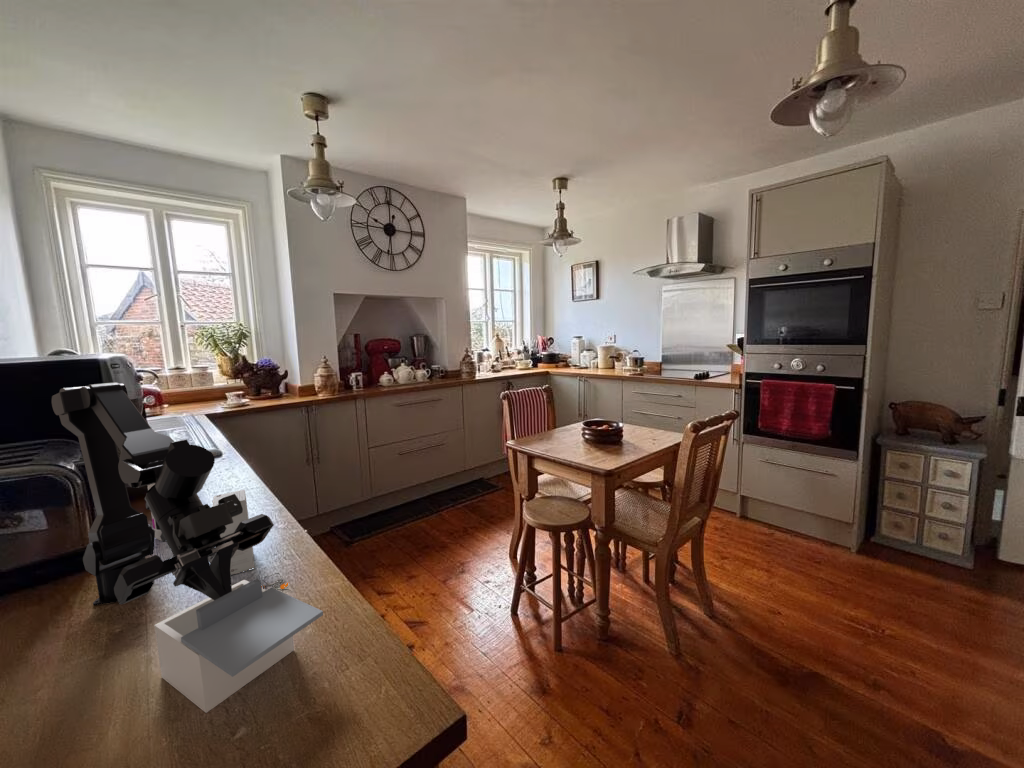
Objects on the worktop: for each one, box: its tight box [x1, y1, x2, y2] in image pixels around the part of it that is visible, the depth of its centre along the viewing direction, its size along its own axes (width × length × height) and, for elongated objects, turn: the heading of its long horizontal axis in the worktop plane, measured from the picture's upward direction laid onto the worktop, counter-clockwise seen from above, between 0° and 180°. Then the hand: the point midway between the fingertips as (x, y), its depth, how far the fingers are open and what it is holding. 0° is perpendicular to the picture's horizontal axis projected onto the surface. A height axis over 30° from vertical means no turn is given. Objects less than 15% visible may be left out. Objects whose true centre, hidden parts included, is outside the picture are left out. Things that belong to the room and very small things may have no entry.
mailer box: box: [153, 579, 295, 714], centre depth 61 cm, size 12×12×8 cm
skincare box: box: [211, 489, 255, 576], centre depth 87 cm, size 8×6×15 cm
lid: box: [181, 578, 324, 677], centre depth 56 cm, size 12×12×3 cm
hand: (228, 603), depth 60 cm, fingers closed, pressing on lid
